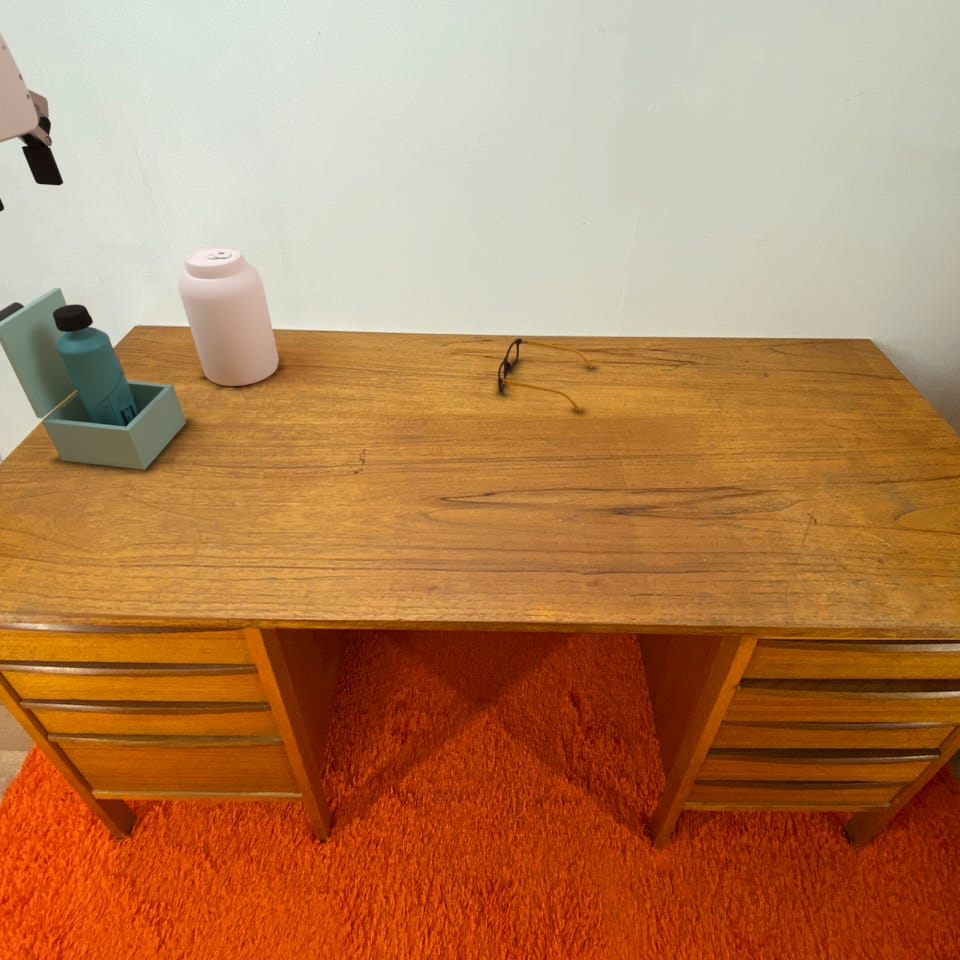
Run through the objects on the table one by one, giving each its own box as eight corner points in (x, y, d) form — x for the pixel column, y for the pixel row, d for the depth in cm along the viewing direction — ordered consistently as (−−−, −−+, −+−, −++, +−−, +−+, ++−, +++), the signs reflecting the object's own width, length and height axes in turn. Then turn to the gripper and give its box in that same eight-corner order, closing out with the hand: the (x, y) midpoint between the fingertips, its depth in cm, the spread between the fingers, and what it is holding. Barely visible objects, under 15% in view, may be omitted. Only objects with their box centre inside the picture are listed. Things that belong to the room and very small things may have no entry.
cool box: (186, 422, 98) (173, 384, 93) (144, 470, 89) (128, 430, 84) (110, 414, 99) (93, 376, 95) (61, 460, 90) (41, 421, 86)
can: (264, 344, 117) (239, 233, 104) (291, 373, 109) (268, 258, 96) (194, 363, 111) (159, 249, 98) (218, 396, 103) (183, 276, 90)
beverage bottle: (137, 451, 91) (82, 321, 78) (91, 450, 91) (28, 320, 78) (156, 424, 96) (107, 298, 83) (112, 423, 96) (56, 297, 83)
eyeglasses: (512, 356, 115) (513, 336, 112) (592, 368, 112) (595, 347, 109) (492, 398, 104) (493, 376, 102) (580, 412, 101) (583, 390, 99)
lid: (60, 288, 86) (20, 283, 86) (-2, 327, 77) (-47, 322, 77) (94, 374, 94) (58, 369, 95) (42, 418, 86) (2, 413, 86)
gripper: (-27, 0, 68) (42, 173, 79) (-179, 14, 55) (-70, 219, 66) (38, 2, 67) (98, 177, 78) (-100, 17, 54) (-4, 224, 65)
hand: (21, 196), depth 72 cm, fingers open, 9 cm apart
